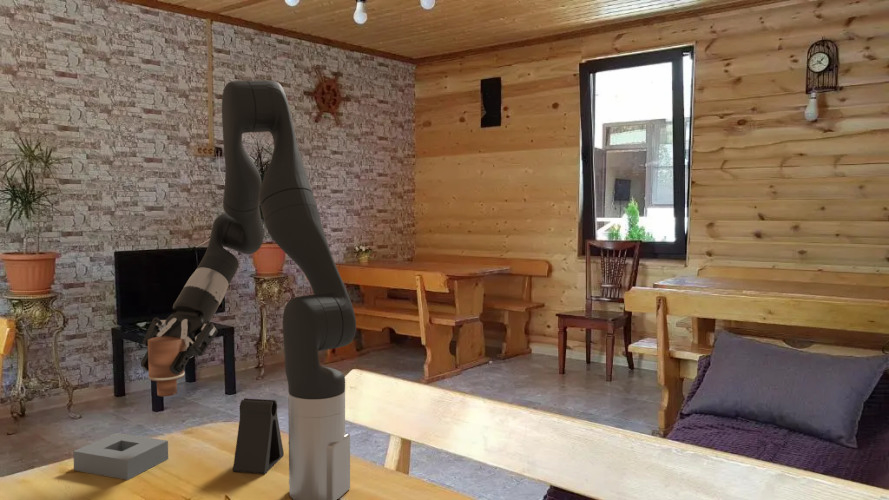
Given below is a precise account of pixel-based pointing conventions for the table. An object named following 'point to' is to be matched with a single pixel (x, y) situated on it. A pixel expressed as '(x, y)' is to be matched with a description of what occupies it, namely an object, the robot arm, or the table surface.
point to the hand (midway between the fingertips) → (159, 370)
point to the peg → (164, 363)
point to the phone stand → (258, 437)
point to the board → (120, 455)
